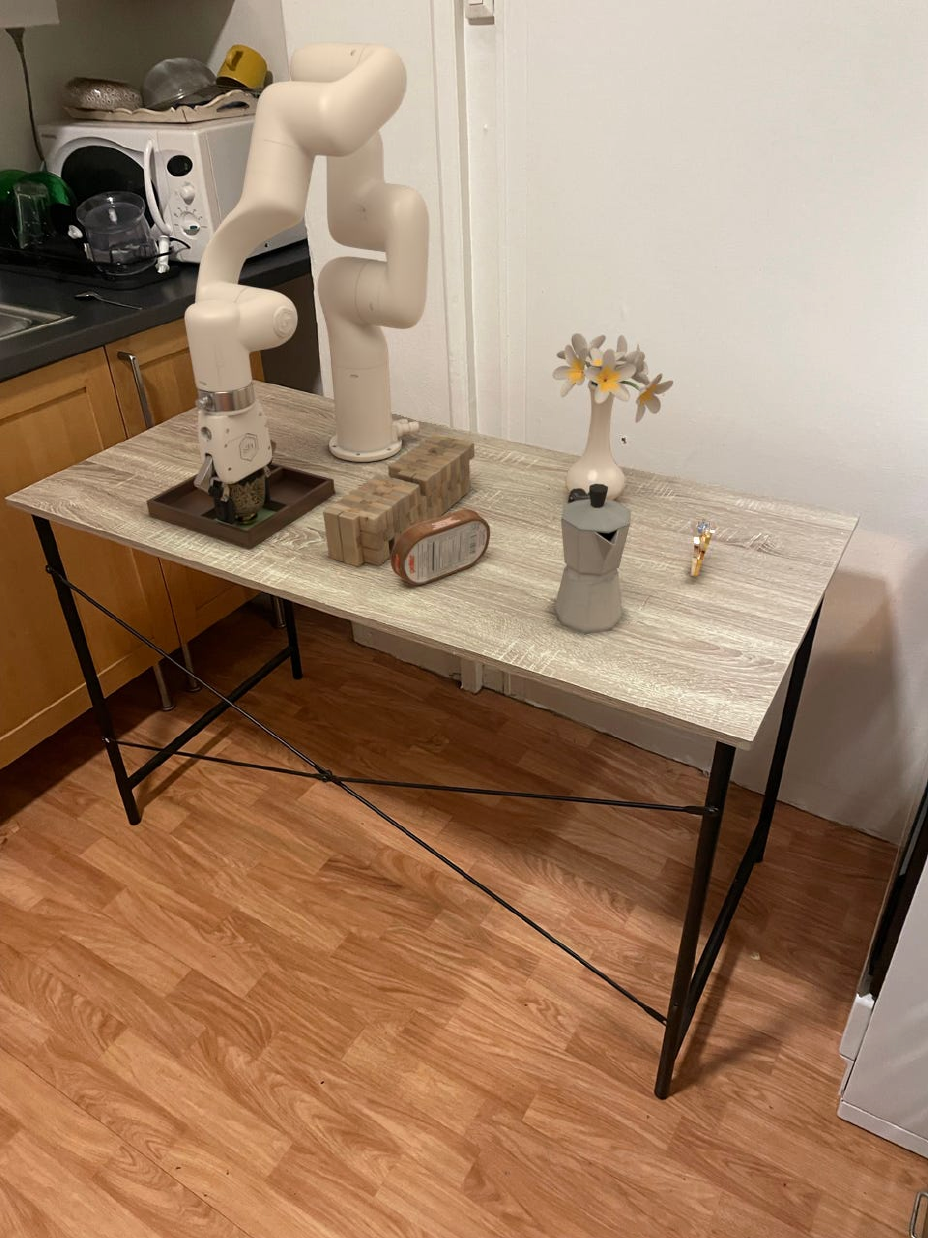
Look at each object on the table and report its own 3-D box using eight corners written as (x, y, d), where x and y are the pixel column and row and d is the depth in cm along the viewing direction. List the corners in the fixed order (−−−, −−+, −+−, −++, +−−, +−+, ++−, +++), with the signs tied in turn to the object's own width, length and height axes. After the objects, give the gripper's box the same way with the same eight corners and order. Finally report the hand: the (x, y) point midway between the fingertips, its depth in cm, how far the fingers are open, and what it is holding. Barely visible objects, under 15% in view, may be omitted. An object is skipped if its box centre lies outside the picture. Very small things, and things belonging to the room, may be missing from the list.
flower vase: (629, 535, 134) (648, 368, 120) (526, 499, 144) (532, 340, 130) (671, 502, 143) (693, 343, 129) (571, 470, 152) (581, 318, 138)
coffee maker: (638, 637, 113) (654, 507, 103) (569, 646, 112) (579, 516, 102) (598, 575, 125) (609, 453, 115) (536, 582, 124) (542, 460, 114)
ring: (702, 589, 122) (711, 536, 118) (678, 584, 123) (686, 532, 119) (711, 563, 128) (720, 512, 123) (688, 559, 129) (696, 508, 124)
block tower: (373, 577, 127) (477, 487, 147) (368, 524, 122) (476, 439, 142) (327, 562, 130) (435, 476, 150) (321, 510, 125) (433, 428, 145)
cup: (265, 533, 134) (258, 483, 129) (215, 532, 134) (206, 483, 129) (275, 509, 140) (268, 460, 135) (227, 508, 140) (219, 460, 136)
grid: (239, 466, 154) (236, 452, 153) (335, 494, 146) (333, 479, 144) (149, 516, 140) (145, 500, 138) (250, 549, 132) (247, 533, 130)
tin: (480, 552, 131) (480, 499, 126) (493, 561, 129) (494, 508, 124) (390, 586, 123) (387, 531, 119) (403, 596, 121) (400, 541, 117)
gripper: (201, 422, 118) (222, 542, 128) (288, 380, 130) (301, 493, 141) (159, 411, 121) (183, 529, 131) (248, 371, 134) (263, 482, 144)
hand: (244, 510), depth 136 cm, fingers closed on cup, 6 cm apart
